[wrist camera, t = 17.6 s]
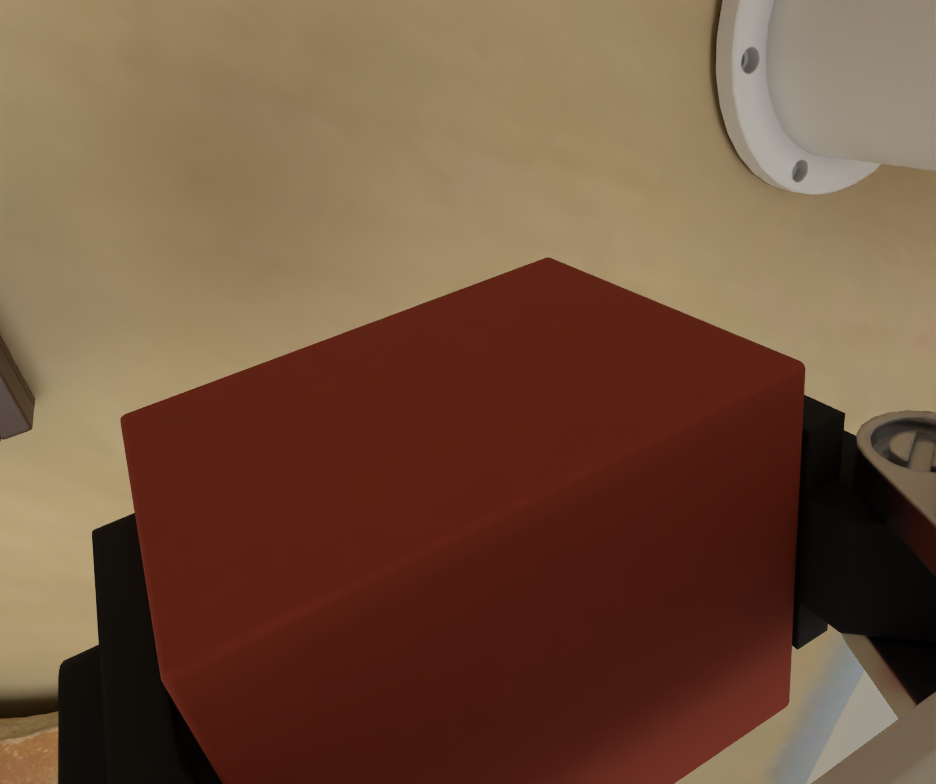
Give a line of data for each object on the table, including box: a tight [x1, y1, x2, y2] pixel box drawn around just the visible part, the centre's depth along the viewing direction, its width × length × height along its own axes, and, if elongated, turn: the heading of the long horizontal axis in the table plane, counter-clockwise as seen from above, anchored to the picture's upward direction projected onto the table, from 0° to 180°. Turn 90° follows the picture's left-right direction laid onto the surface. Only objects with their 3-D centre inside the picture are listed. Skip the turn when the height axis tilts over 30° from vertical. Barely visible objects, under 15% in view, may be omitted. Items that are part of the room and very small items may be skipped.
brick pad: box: [121, 258, 805, 784], centre depth 9 cm, size 6×5×4 cm
